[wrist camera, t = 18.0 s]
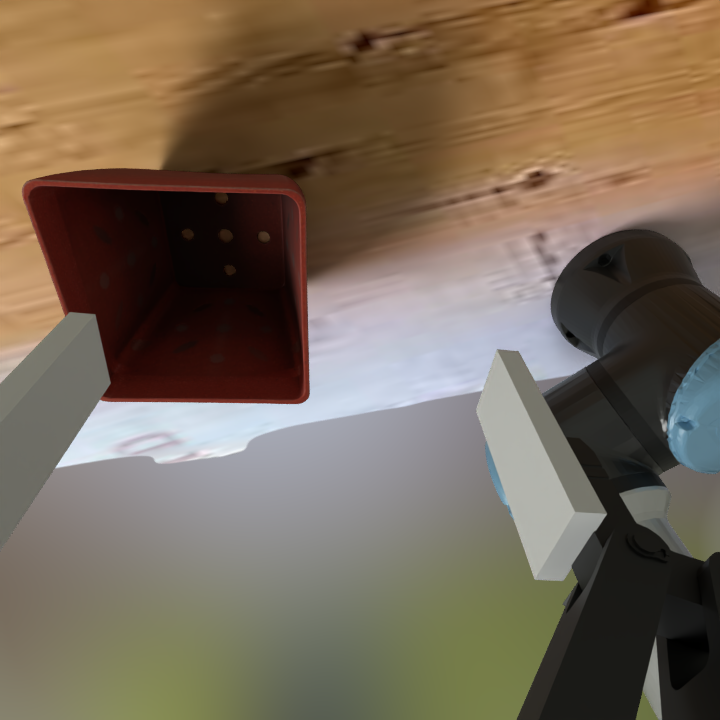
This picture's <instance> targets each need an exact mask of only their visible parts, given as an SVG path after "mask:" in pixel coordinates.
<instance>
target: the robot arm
mask: <svg viewBox="0 0 720 720" xmlns="http://www.w3.org/2000/svg"><path fill="white" fill-rule="evenodd" d="M551 313H552V317H553V320H554V323H555V325H556V326H557V328H558V329H559V331H560V332H561V334H562V335H563V336H564V338H565V339H566V340H567V341H568V342H569V343H570V344H572V345H573V346H574V347H576V348H578V349H579V350H581V351H583V352H585V353H587V354H589V355H591V356H593V357H595V358H597V359H598V360H596V361H595V362H593V363H592V364H590V365H588V366H587V367H585V368H583V369H581V370H580V371H578V372H577V373H575V374H573V375H572V376H570V377H568V378H567V379H565V380H564V381H562V382H560V383H559V384H557V385H555V386H554V387H552V388H551V389H549V390H547V391H546V392H544V393H542V394H541V392H540V390H539V388H538V386H537V384H536V383H535V381H534V379H533V377H532V375H531V373H530V372H529V370H528V368H527V366H526V364H525V362H524V361H523V359H522V357H521V355H520V353H519V351H508V350H497V351H496V354H495V357H494V360H493V362H492V365H491V368H490V371H489V374H488V377H487V380H486V383H485V386H484V389H483V392H482V394H481V397H480V400H479V403H478V406H477V409H476V412H477V414H478V418H479V421H480V423H481V426H482V429H483V432H484V435H485V438H486V446H485V449H486V459H487V464H488V468H489V472H490V475H491V477H492V480H493V483H494V486H495V488H496V490H497V492H498V495H499V497H500V499H501V501H502V502H503V504H505V505H507V507H508V510H509V514H510V515H511V517H512V518H513V520H514V521H515V524H516V527H517V530H518V533H519V535H520V538H521V541H522V544H523V546H524V550H525V553H526V555H527V558H528V561H529V564H530V566H531V570H532V572H533V575H534V578H535V580H557V581H563V580H564V578H565V577H566V576H567V574H568V572H569V571H570V569H571V568H572V569H573V571H574V573H575V576H576V578H577V580H578V583H577V584H576V586H575V587H574V588H573V590H572V591H571V593H570V594H569V596H568V597H567V599H566V600H565V602H564V603H563V605H564V606H566V607H565V609H564V612H563V614H562V617H561V619H560V621H559V624H558V625H557V628H556V630H555V632H554V635H553V637H552V639H551V641H550V644H549V646H548V648H547V651H546V653H545V655H544V658H543V660H542V662H541V665H540V667H539V669H538V672H537V674H536V676H535V678H534V681H533V683H532V685H531V688H530V690H529V692H528V695H527V697H526V699H525V701H524V704H523V706H522V708H521V711H520V713H519V716H518V718H517V720H636V716H637V711H638V707H639V703H640V699H641V695H642V691H643V692H644V693H645V695H646V697H647V699H648V701H649V702H650V704H651V707H652V708H653V710H654V712H655V714H656V716H657V718H658V720H720V552H716V553H714V554H713V555H711V556H710V557H709V558H708V559H707V561H705V562H704V561H701V560H697V559H694V558H693V557H692V555H691V554H690V552H689V551H688V549H687V548H686V547H685V545H684V544H683V542H682V541H681V539H680V538H679V537H678V535H677V534H676V532H675V531H674V529H673V528H672V526H671V525H670V524H669V522H668V519H667V513H668V509H669V504H670V500H671V493H670V492H669V490H668V488H667V487H666V486H665V484H664V483H663V482H662V480H661V479H660V478H659V475H660V474H662V473H663V472H664V471H667V470H669V469H671V468H673V467H675V466H677V465H679V464H682V465H684V466H686V467H688V468H690V469H692V470H694V471H697V472H701V473H707V474H716V473H718V472H719V471H720V297H718V296H717V295H715V294H714V293H713V292H711V291H710V290H708V289H707V288H705V287H704V286H703V285H702V284H701V282H700V280H699V278H698V276H697V274H696V272H695V270H694V268H693V266H692V263H691V260H690V258H689V257H688V255H687V254H686V252H685V251H684V250H683V249H682V248H681V247H680V246H678V245H677V244H676V243H674V242H673V241H671V240H670V239H668V238H667V237H665V236H663V235H661V234H659V233H656V232H652V231H648V230H628V231H622V232H618V233H614V234H611V235H608V236H606V237H604V238H602V239H599V240H598V241H596V242H594V243H592V244H591V245H589V246H588V247H586V248H585V249H583V250H582V251H581V252H580V253H579V254H577V255H576V256H575V257H574V258H573V259H572V260H571V261H570V263H569V264H568V265H567V266H566V267H565V269H564V270H563V272H562V273H561V275H560V276H559V278H558V280H557V282H556V284H555V287H554V290H553V293H552V298H551ZM110 384H111V382H110V378H109V373H108V369H107V365H106V360H105V356H104V351H103V347H102V342H101V338H100V333H99V329H98V325H97V320H96V316H95V314H85V313H74V312H69V313H68V314H67V315H66V316H65V318H64V319H63V320H62V321H61V322H60V323H59V324H58V325H57V326H56V327H55V328H54V329H53V330H52V331H51V332H50V333H49V334H48V335H47V336H46V337H45V338H44V339H43V340H42V341H41V342H40V343H39V344H38V345H37V346H36V347H35V349H34V350H33V351H32V352H31V353H30V354H29V355H28V356H27V357H26V358H25V359H24V360H23V361H22V362H21V363H20V364H19V365H18V366H17V367H16V368H15V369H14V370H13V371H12V372H11V373H10V374H9V375H8V376H7V377H6V378H5V380H4V381H3V382H2V383H1V384H0V551H1V549H2V548H3V546H4V545H5V543H6V542H7V540H8V539H9V537H10V536H11V534H12V533H13V531H14V529H15V528H16V526H17V525H18V524H19V522H20V520H21V519H22V517H23V516H24V514H25V513H26V511H27V510H28V508H29V507H30V505H31V504H32V502H33V500H34V499H35V498H36V496H37V495H38V493H39V491H40V490H41V488H42V487H43V485H44V484H45V482H46V481H47V479H48V478H49V476H50V475H51V473H52V472H53V470H54V469H55V467H56V466H57V464H58V463H59V461H60V460H61V458H62V457H63V455H64V454H65V452H66V450H67V449H68V447H69V446H70V444H71V443H72V441H73V440H74V438H75V437H76V435H77V434H78V432H79V431H80V429H81V428H82V426H83V425H84V423H85V422H86V420H87V419H88V417H89V415H90V414H91V412H92V411H93V409H94V408H95V406H96V405H97V403H98V402H99V400H100V399H101V397H102V396H103V394H104V393H105V391H106V390H107V388H108V387H109V385H110Z"/></svg>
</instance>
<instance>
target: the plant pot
mask: <svg viewBox="0 0 720 720" xmlns="http://www.w3.org/2000/svg"><path fill="white" fill-rule="evenodd" d="M217 192H224V193H226V194H227V196H228V201H227V202H226V204H225V205H219V204H218V203H217V202H216V201H215V194H216V193H217ZM22 196H23V200H24V203H25V205H26V208H27V211H28V214H29V216H30V219H31V222H32V225H33V227H34V230H35V233H36V236H37V239H38V242H39V244H40V247H41V250H42V252H43V255H44V258H45V261H46V264H47V266H48V269H49V272H50V275H51V278H52V281H53V283H54V286H55V289H56V292H57V295H58V297H59V300H60V303H61V306H62V309H63V312H64V314H65V316H66V315H67V314H68V313H69V312H74V313H85V314H95V316H96V320H97V325H98V329H99V333H100V338H101V342H102V347H103V351H104V356H105V360H106V365H107V369H108V373H109V378H110V382H111V384H110V385H109V387H108V388H107V390H106V391H105V393H104V394H103V396H102V397H101V399H100V400H102V401H107V402H198V403H207V402H211V403H270V404H300V403H303V402H305V401H306V400H307V399H308V398H309V394H310V388H309V348H308V306H307V241H306V202H305V198H304V195H303V192H302V190H301V189H300V187H299V186H298V185H297V184H296V182H295V181H293V180H292V179H291V178H289V177H287V176H284V175H279V174H224V173H204V172H186V171H168V170H150V169H127V168H116V169H95V170H82V171H74V172H67V173H60V174H54V175H49V176H45V177H40V178H36V179H32V180H29V181H27V182H26V183H25V184H24V185H23V188H22ZM184 229H190V230H192V231H193V232H194V239H192V240H191V241H187V240H185V239H184V238H183V237H182V234H181V233H182V231H183V230H184ZM222 229H227V230H230V231H231V233H232V234H233V239H232V241H231V242H229V243H224V242H222V241H221V240H220V239H219V237H218V233H219V231H220V230H222ZM260 231H265V232H267V233H268V234H269V236H270V240H269V241H268V242H267V243H261V242H259V241H258V239H257V234H258V233H259V232H260ZM226 265H232V266H234V267H235V269H236V273H235V275H233V276H228V275H226V274H225V272H224V271H223V270H224V267H225V266H226Z"/></svg>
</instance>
